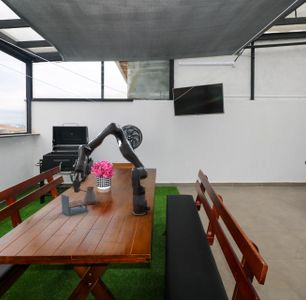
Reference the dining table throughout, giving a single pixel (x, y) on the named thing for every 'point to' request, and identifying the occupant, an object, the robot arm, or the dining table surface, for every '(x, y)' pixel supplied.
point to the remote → (76, 186)
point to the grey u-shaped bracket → (72, 206)
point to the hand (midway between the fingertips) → (76, 186)
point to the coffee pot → (90, 195)
